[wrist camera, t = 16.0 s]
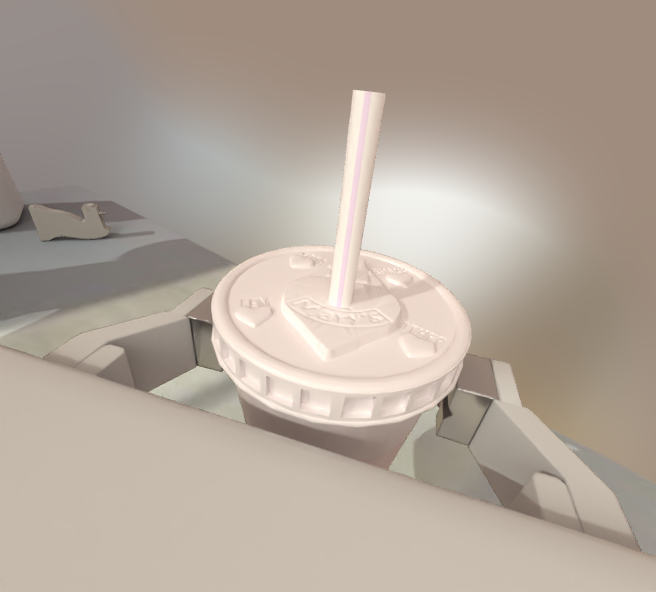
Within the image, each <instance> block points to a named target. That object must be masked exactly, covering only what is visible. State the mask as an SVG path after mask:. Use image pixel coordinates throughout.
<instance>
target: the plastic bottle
mask: <svg viewBox="0 0 656 592" xmlns="http://www.w3.org/2000/svg"><path fill="white" fill-rule="evenodd" d="M23 207H24V201H23V199H22V197H21V195H20V193H19V191H18V189H17V187H16V185H15V183H14V181H13V179H12V177H11V175H10V173H9V171H8V169H7V167H6V165H5V163H4V160H3V158H2V156H1V154H0V229H4V228H7V227H10V226H12V225H14V224H16V223H17V222H18V221H19V219H20V216H21V213H22V210H23Z"/></svg>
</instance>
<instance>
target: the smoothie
mask: <svg viewBox="0 0 656 592" xmlns="http://www.w3.org/2000/svg"><path fill="white" fill-rule="evenodd" d="M385 96H386V94H384V93H375V92H367V91H359V90H353V97H352V105H351V114H350V122H349V131H348V139H347V147H346V156H345V164H344V174H343V181H342V190H341V198H340V207H339V215H338V224H337V232H336V240H335V246H325V245H313V246H297V247H289V248H282V249H278V250H274V251H269V252H266V253H263V254H261V255H258V256H255V257H252V258H250V259H248V260H247V261H245V262H243V263H241V264H239V265H237V266H236V267H235V268H234V269H232V270H231V271H230V272H229V273H227V274H226V275H225V276H224V277H223V279H222V280H221V281H220V282H219V284H218V285H217V287H216V289H215V291H214V294H213V297H212V302H211V312H212V320H213V329H212V338H211V341H212V344H213V347H214V350H215V353H216V356H217V359H218V362H219V365H220V366H221V367H222V368H223V370H224V371H225V372H226V373H227V374H228V376H229V377H230V378H231V379H232V380H233V382H234V383H235V384H236V387H237V391H238V396H239V400H240V403H241V406H242V410H243V414H244V418H245V422H246V424H247V425H251V426H254V427H257V428H260V429H263V430H266V431H269V432H272V433H275V434H278V435H282V436H285V437H288V438H291V439H294V440H297V441H300V442H303V443H306V444H309V445H313V446H316V447H319V448H322V449H325V450H328V451H331V452H334V453H337V454H340V455H343V456H347V457H350V458H353V459H356V460H359V461H362V462H365V463H368V464H371V465H374V466H378V467H381V468H384V469H387V470H388V468H389V466H390V465H391V463H392V461H393V460H394V458H395V456H396V455H397V453H398V451H399V450H400V448H401V446H402V445H403V443H404V441H405V440H406V438H407V436H408V435H409V433H410V432H411V431H412V429H413V428H414V426H415V424H416V422H417V421H418V419H419V417H420V415H421V414H422V413H423V412H426V411H428V410H431V409H433V408H434V407H435V406H436V405H437V404H438V403H439V402H440V401H441V400H442V399H443V398H444V397H446V396H447V395H448V394H449V393H450V392H451V391H452V390H453V389H454V387H455V385H456V382H457V380H458V378H459V375H460V373H461V370H462V368H463V359H464V357H465V355H466V353H467V351H468V348H469V345H470V341H471V326H470V322H469V318H468V316H467V314H466V312H465V310H464V309H463V307H462V305H461V303H460V302H459V301H458V300H457V298H456V297H455V296H454V295H453V294H452V292H451V291H449V290H448V289H447V288H446V287H445V286H444V285H443V284H441V283H440V282H439V281H438V280H436V279H435V278H433V277H432V276H430V275H428V274H427V273H425V272H424V271H422V270H420V269H418V268H416V267H414V266H412V265H410V264H407V263H405V262H403V261H400V260H397V259H395V258H392V257H389V256H386V255H382V254H379V253H375V252H371V251H367V250H361V243H362V237H363V231H364V225H365V219H366V213H367V206H368V200H369V194H370V188H371V182H372V176H373V169H374V163H375V158H376V151H377V145H378V139H379V133H380V126H381V121H382V115H383V108H384V102H385Z"/></svg>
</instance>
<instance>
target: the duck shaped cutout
mask: <svg viewBox="0 0 656 592" xmlns="http://www.w3.org/2000/svg"><path fill="white" fill-rule="evenodd" d="M28 209H29V211H30V214H31V216H32V219H33V221H34V224H35V226H36V229H37V231H38V234H39V236H40V238H41V241H45V240H47V241H49V240H51V239H53V238H54V237H60V236H61V235H62V237H63V236H64V235H65V236H67V235H68V236H67V237H69V236H70V237H72V236H73V238H74V237H75V239H76V238H77V237H78V239H81V238H82V239H83V238H84V239H86V240H88V239H90V240H91V238H92V239H94V238H95V239H97V237H98V239H99V238H100V237H101V238H102V236H103V237H104V236H106V235H107V234H109V233H110V231H111V228H110V227H108V226H106V224H105V222H104V220H103V217H102V215H104V214H106V213H107V212H101V211H100V210H99V207H98V205H95V204H93V203H88V204H84V205H83V206H82V209H81V210H82V212H83V213H84V216H85V219H83V218H81V217H79V216H77V215H75V214H72V213H69V212H66V211H62V210H57V209H50V208H47V207H45V206H42V205H40V204H36V205H30V206H29V207H28Z"/></svg>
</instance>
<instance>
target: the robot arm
mask: <svg viewBox="0 0 656 592" xmlns="http://www.w3.org/2000/svg"><path fill="white" fill-rule="evenodd" d="M214 291H215V290H212V289H208V288H200V289H199V290H197V291H196V292H195V293H193V294H192V295H191V296H190V297H188V298H187V299H186V300H184V301H183V302H182V303H181V304H179V305H178V306H177V307H175V308H174V309H173V310H172V311H170V312H167V311H163V312H159V313H156V314H152V315H148V316H144V317H141V318H137V319H133V320H129V321H125V322H122V323H118V324H114V325H110V326H107V327H103V328H99V329H95V330H92V331H88V332H84V333H80V334H79V335H77V336H75V337H74V338H72V339H71V340H69V341H68V342H66V343H65V344H63V345H62V346H60V347H58V348H57V349H55V350H54V351H52V352H51V353H49V354H48V355H46V356H44V357H43V358H40V357H36V356H33V355H30V354H27V353H24V352H21V351H18V350H15V349H12V348H9V347H5V346H2V345H0V592H656V556H653V555H650V554H647V553H644V552H642V551H641V549H640V546H639V544H638V542H637V540H636V538H635V535H634V533H633V531H632V529H631V527H630V525H629V522H628V520H627V518H626V516H625V514H624V512H623V509H622V507H621V505H620V503H619V501H618V498H617V496H616V494H615V493H614V492H613V491H612V490H611V489H610V488H609V487H608V486H607V485H606V484H605V483H604V482H603V481H602V480H601V479H600V478H599V477H598V476H597V475H596V474H595V473H594V472H593V471H592V470H591V469H590V468H589V467H588V466H587V465H586V464H585V463H584V462H583V461H582V460H581V459H580V458H579V457H578V456H577V455H576V454H575V453H574V452H573V451H572V450H571V449H570V448H568V447H567V446H566V445H565V444H564V443H563V442H562V441H561V440H560V439H559V438H558V437H557V436H556V435H555V434H554V433H553V432H552V431H551V430H550V429H549V428H548V427H547V426H546V425H545V424H544V423H543V422H542V421H541V420H540V419H539V418H538V417H537V416H536V415H535V414H534V413H533V412H532V411H531V410H530V409H529V408H525V407H523V406H522V402H521V399H520V395H519V392H518V389H517V385H516V382H515V379H514V375H513V372H512V369H511V365H510V364H509V363H508V362H504V361H500V360H495V359H491V358H484V357H479V356H476V355H471V354H467V353H466V355H465V357H464V359H463V368H462V370H461V373H460V375H459V378H458V380H457V382H456V385H455V387H454V389H453V390H452V391H451V392H450V393H449V394H448V395H447V396H446V397H444V398H443V399H442V400H441V401H440V402H439V403H438V404H437V405H438V407H439V410H438V412H437V415H436V436H439V437H443V438H446V439H449V440H452V441H455V442H458V443H461V444H464V445H467V446H468V448H469V450H470V451H471V453H472V455H473V456H474V458H475V460H476V461H477V463H478V465H479V466H480V468H481V470H482V472H483V473H484V475H485V477H486V478H487V480H488V482H489V483H490V485H491V487H492V488H493V490H494V492H495V493H496V495H497V497H498V498H499V500H500V502H501V503H502V505H503V507H502V506H498V505H495V504H492V503H489V502H486V501H483V500H480V499H477V498H474V497H471V496H467V495H464V494H461V493H458V492H455V491H452V490H449V489H446V488H443V487H440V486H436V485H433V484H430V483H427V482H424V481H421V480H418V479H415V478H412V477H409V476H405V475H402V474H399V473H396V472H393V471H390V470H387V469H384V468H381V467H378V466H374V465H371V464H368V463H365V462H362V461H359V460H356V459H353V458H350V457H347V456H343V455H340V454H337V453H334V452H331V451H328V450H325V449H322V448H319V447H316V446H313V445H309V444H306V443H303V442H300V441H297V440H294V439H291V438H288V437H285V436H282V435H278V434H275V433H272V432H269V431H266V430H263V429H260V428H257V427H254V426H251V425H247V424H244V423H241V422H238V421H235V420H232V419H229V418H226V417H223V416H219V415H216V414H213V413H210V412H207V411H204V410H201V409H198V408H195V407H191V406H188V405H185V404H182V403H179V402H176V401H173V400H170V399H167V398H163V397H160V396H157V395H154V394H151V393H148V392H149V391H150V390H152V389H154V388H156V387H158V386H160V385H162V384H164V383H166V382H168V381H170V380H172V379H174V378H176V377H178V376H180V375H182V374H183V373H185V372H187V371H189V370H191V369H193V368H195V367H196V365H197V366H201V367H205V368H208V369H212V370H216V371H220V372H222V371H223V368H222V367H221V366H220V365H219V362H218V359H217V356H216V353H215V350H214V347H213V344H212V341H211V338H212V329H213V320H212V312H211V302H212V297H213V294H214Z"/></svg>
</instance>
